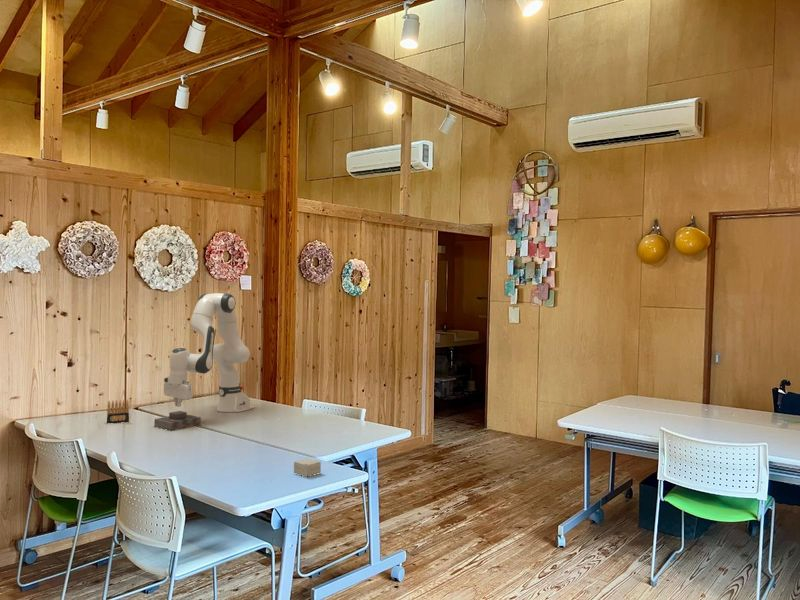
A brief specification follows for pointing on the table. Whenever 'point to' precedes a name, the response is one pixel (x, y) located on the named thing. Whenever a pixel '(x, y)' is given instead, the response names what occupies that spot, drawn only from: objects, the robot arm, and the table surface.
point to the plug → (177, 415)
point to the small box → (307, 467)
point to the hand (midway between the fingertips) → (177, 406)
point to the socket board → (177, 422)
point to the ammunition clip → (118, 412)
